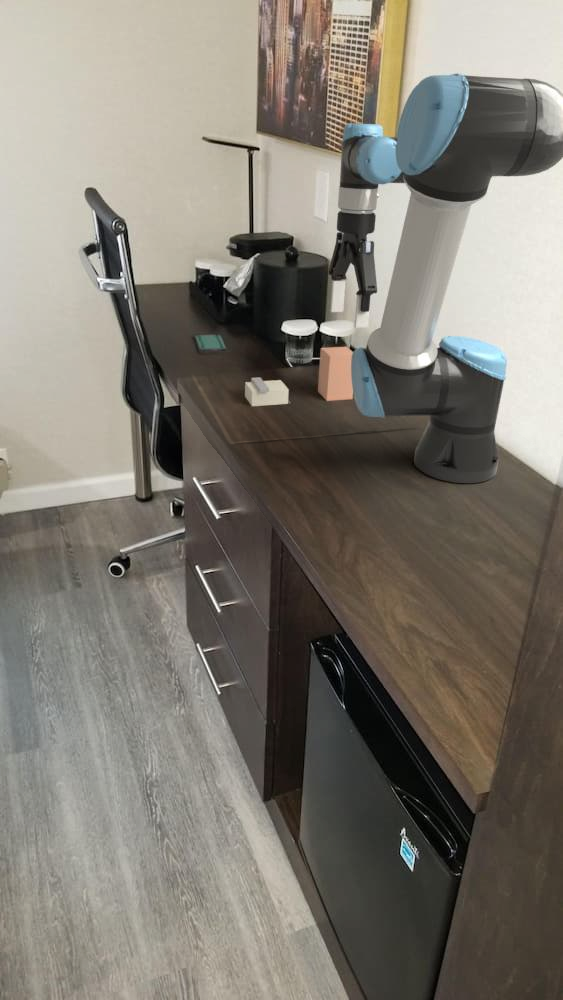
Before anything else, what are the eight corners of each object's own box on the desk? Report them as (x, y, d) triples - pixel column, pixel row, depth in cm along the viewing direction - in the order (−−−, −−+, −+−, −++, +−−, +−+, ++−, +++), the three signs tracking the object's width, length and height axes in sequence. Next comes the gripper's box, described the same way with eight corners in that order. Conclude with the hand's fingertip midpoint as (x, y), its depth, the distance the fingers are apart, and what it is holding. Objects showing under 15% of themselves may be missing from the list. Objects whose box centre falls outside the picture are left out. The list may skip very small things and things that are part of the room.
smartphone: (199, 350, 192) (193, 333, 205) (199, 355, 193) (194, 338, 206) (228, 350, 194) (220, 333, 206) (228, 354, 194) (220, 337, 207)
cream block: (291, 407, 162) (292, 387, 160) (252, 410, 160) (253, 389, 158) (281, 396, 168) (282, 375, 166) (244, 398, 166) (244, 378, 164)
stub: (352, 399, 166) (356, 355, 161) (326, 400, 165) (330, 356, 160) (342, 389, 171) (346, 346, 166) (317, 391, 170) (320, 347, 165)
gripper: (401, 218, 139) (390, 333, 149) (350, 204, 160) (343, 305, 170) (364, 218, 137) (354, 334, 146) (317, 204, 158) (311, 306, 168)
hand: (348, 319), depth 158 cm, fingers open, 13 cm apart
